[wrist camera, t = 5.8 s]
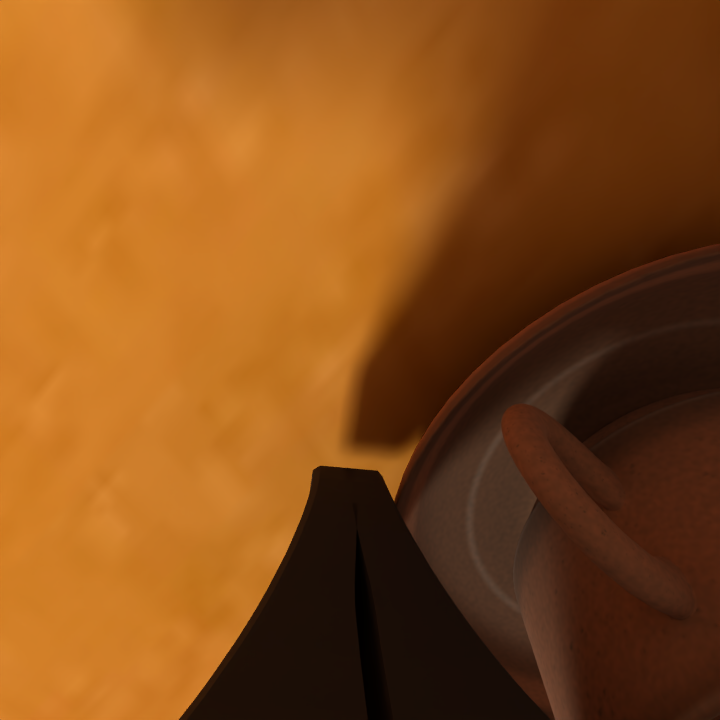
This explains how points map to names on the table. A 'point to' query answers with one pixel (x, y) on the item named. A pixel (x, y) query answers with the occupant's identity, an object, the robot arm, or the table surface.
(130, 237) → the table surface
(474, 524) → the cup and saucer
